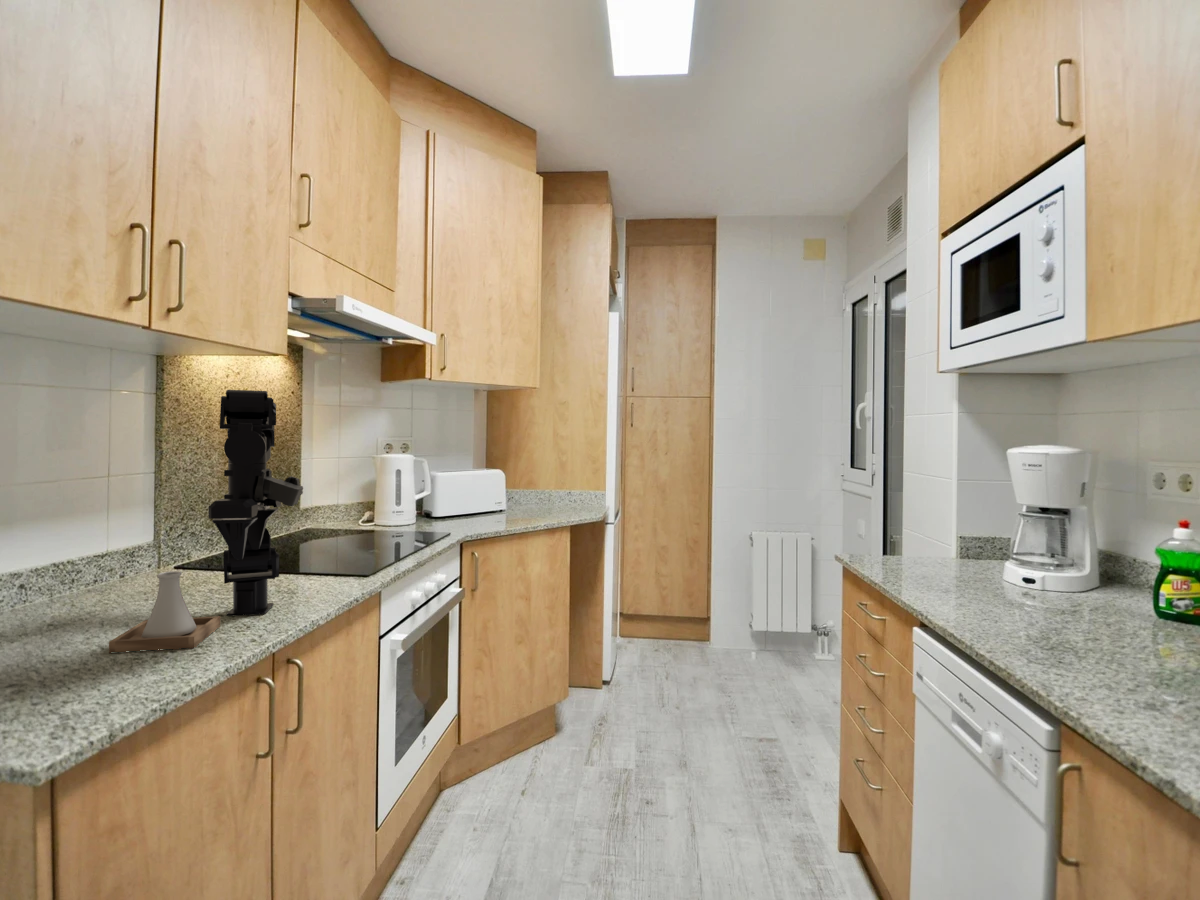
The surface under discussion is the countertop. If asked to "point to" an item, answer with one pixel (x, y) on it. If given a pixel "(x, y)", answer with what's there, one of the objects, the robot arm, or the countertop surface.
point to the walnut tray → (135, 642)
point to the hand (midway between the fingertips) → (247, 554)
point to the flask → (169, 610)
